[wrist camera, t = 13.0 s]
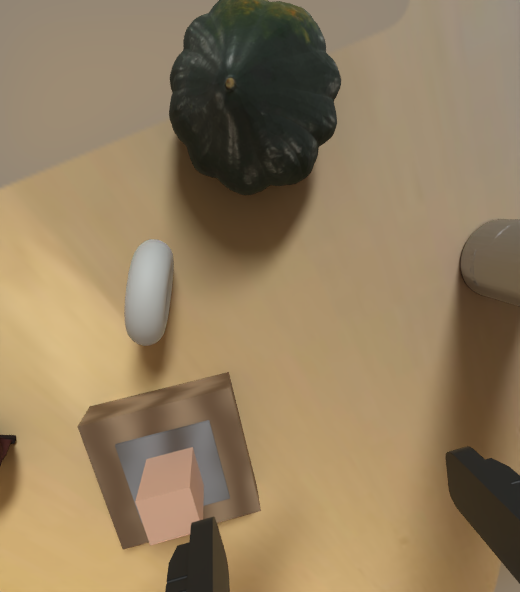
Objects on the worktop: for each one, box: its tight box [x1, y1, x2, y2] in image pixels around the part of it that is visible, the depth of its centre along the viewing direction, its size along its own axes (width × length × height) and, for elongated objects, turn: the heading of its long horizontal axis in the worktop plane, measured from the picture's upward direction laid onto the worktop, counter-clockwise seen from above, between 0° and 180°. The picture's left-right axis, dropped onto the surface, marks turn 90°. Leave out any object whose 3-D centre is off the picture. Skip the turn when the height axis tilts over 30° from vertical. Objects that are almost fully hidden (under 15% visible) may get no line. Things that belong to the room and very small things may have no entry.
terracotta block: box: [135, 447, 204, 545], centre depth 37 cm, size 5×5×6 cm
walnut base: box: [78, 372, 261, 549], centre depth 42 cm, size 16×16×4 cm
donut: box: [125, 239, 174, 346], centre depth 35 cm, size 10×4×10 cm, turn 171°
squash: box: [169, 0, 341, 195], centre depth 31 cm, size 14×15×15 cm
